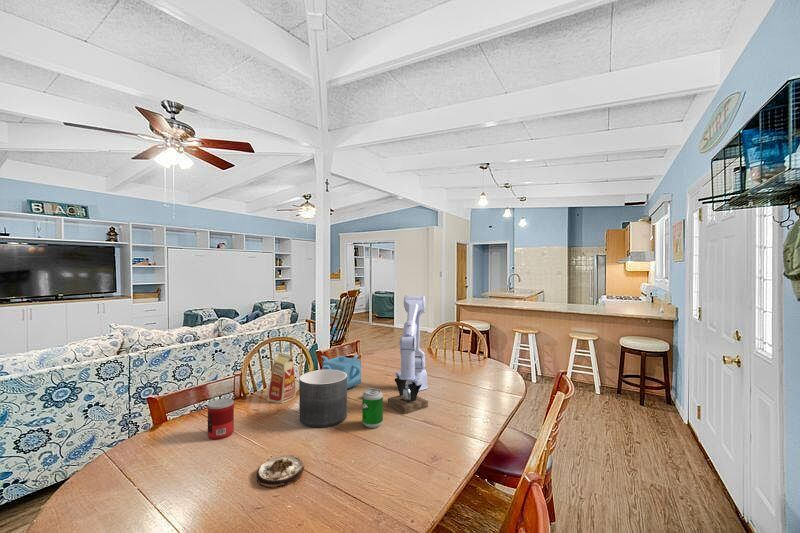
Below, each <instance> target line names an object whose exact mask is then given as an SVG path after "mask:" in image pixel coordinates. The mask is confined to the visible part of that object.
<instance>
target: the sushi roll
mask: <svg viewBox="0 0 800 533" xmlns="http://www.w3.org/2000/svg"><path fill="white" fill-rule="evenodd" d="M305 466H307V467H308V465H304V462H303V460H302V459H301V458H300V457H296V456H294V455H293V454H290V455H280V456H278V457H274V458H271V459H269V460H268V459H267V461H265V462H264V463H262V464H260V466H259V467H258V469H257V470H256V471H257V472H256V482H257V484H259V486H261V487H264V488H267V489H273V488H278V487H279V488H285V487H286V486H288V485H291V484H293V483H294V484H293V485H294V486H296V485H295V484H297V485H298V484H299V483H301V479H302V478H303V476H304V471H305V468H307V467H305ZM298 482H299V483H298Z"/></svg>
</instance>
